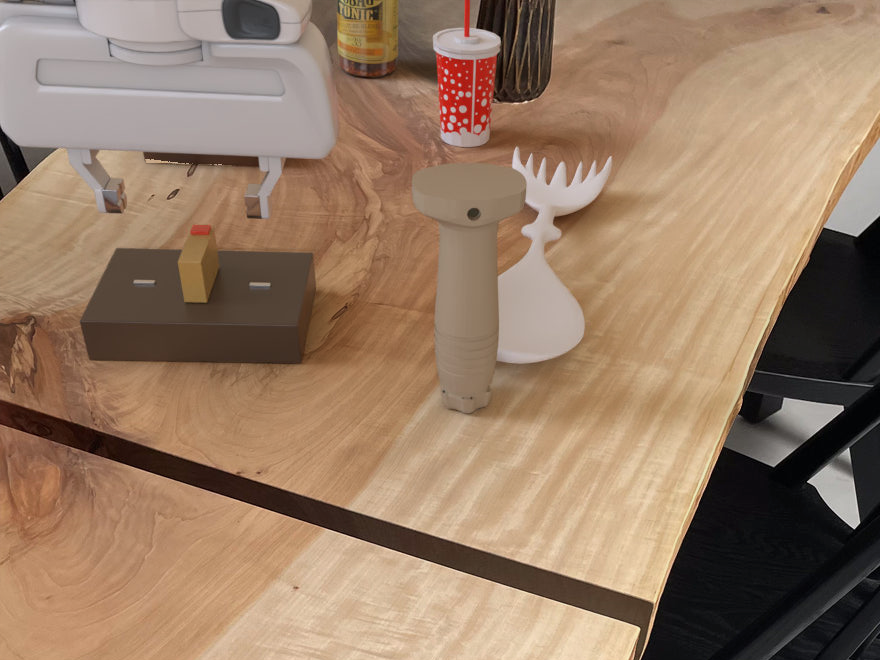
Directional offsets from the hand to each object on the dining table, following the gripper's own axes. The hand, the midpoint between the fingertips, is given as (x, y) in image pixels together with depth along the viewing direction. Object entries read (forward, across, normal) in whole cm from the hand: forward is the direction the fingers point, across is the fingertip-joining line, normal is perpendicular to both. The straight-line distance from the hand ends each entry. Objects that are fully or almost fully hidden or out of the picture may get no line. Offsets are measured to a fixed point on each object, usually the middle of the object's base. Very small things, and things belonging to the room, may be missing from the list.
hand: (187, 212), depth 72 cm
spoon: (+8, +24, +8) cm, 27 cm away
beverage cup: (+8, +19, +34) cm, 39 cm away
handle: (+8, +18, -9) cm, 22 cm away
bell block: (+8, -4, +31) cm, 32 cm away
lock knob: (+5, 0, 0) cm, 5 cm away
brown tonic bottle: (+8, +9, +51) cm, 52 cm away
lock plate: (+8, 0, 0) cm, 8 cm away
